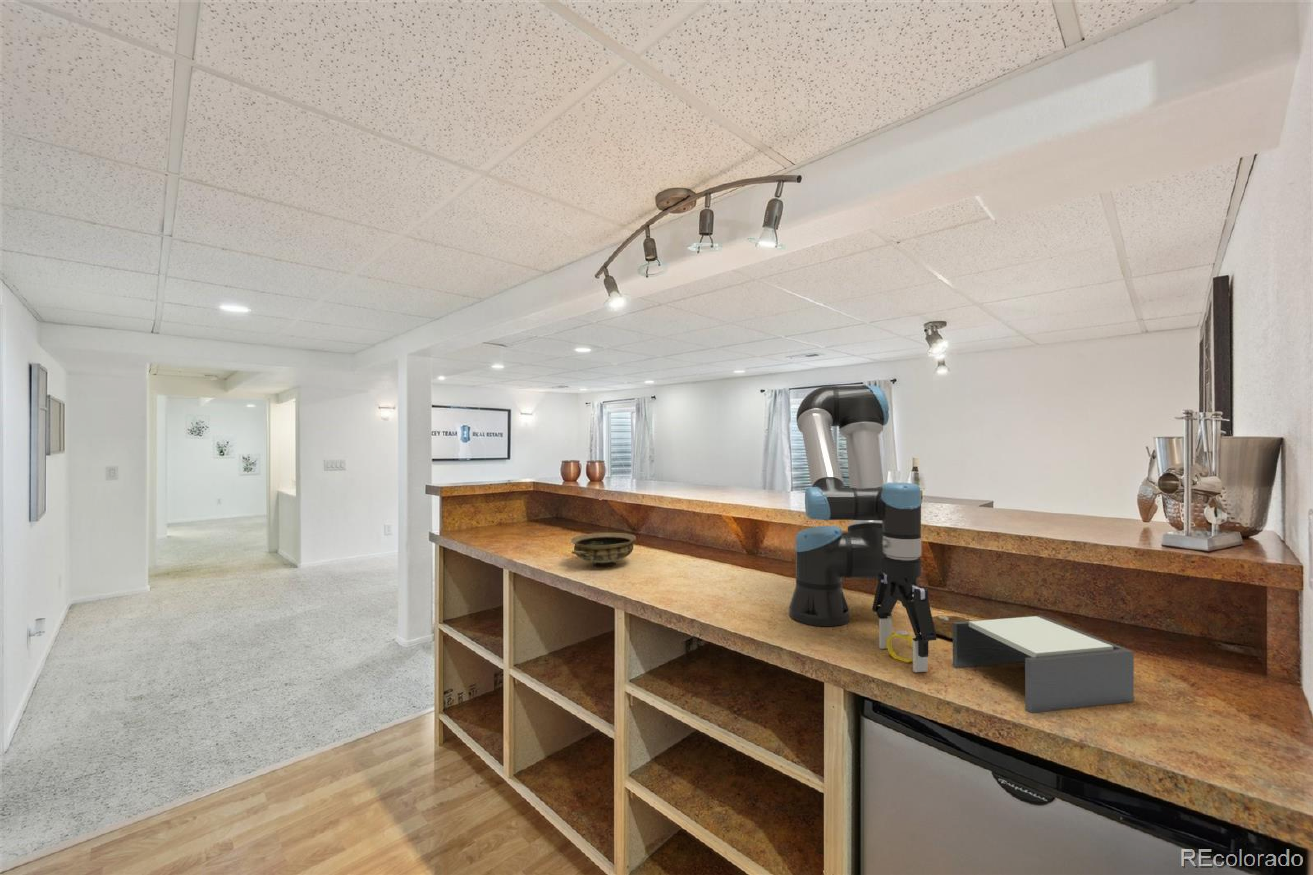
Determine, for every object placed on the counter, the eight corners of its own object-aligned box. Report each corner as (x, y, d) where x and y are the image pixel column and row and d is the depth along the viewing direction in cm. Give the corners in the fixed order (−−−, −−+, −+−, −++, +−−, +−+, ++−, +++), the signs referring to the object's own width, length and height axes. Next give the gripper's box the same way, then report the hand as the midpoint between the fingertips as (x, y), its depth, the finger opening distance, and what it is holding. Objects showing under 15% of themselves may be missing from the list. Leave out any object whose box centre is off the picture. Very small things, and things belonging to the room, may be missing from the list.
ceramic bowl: (609, 553, 217) (608, 528, 217) (654, 561, 202) (654, 535, 202) (551, 568, 194) (550, 540, 194) (597, 579, 179) (597, 549, 179)
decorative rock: (1001, 640, 125) (934, 625, 136) (1001, 622, 125) (933, 609, 137) (985, 651, 118) (915, 635, 129) (984, 632, 118) (915, 617, 129)
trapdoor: (968, 626, 110) (968, 621, 110) (1036, 621, 112) (1036, 616, 112) (1036, 658, 94) (1036, 653, 94) (1113, 651, 96) (1113, 646, 96)
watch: (885, 658, 115) (883, 630, 115) (892, 655, 117) (890, 627, 117) (913, 666, 110) (911, 636, 111) (920, 662, 112) (917, 633, 112)
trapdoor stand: (952, 665, 111) (952, 622, 111) (1040, 657, 114) (1040, 615, 114) (1031, 712, 92) (1031, 660, 92) (1133, 701, 95) (1133, 651, 95)
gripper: (855, 545, 124) (856, 639, 125) (921, 571, 101) (922, 686, 101) (885, 543, 126) (885, 636, 126) (957, 569, 102) (957, 682, 103)
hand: (902, 658), depth 114 cm, fingers open, 11 cm apart
